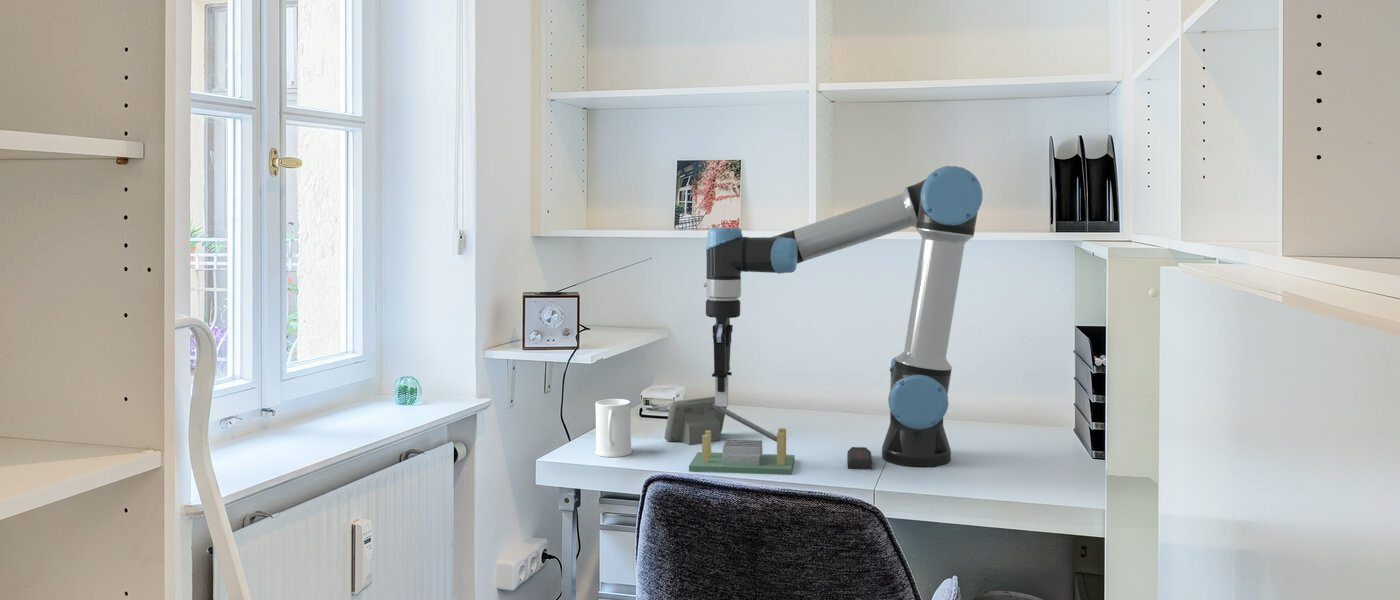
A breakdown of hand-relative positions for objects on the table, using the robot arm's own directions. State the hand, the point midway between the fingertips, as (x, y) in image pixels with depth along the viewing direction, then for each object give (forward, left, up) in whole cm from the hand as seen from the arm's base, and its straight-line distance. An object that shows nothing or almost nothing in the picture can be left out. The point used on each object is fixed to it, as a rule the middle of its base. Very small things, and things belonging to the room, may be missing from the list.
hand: (721, 405), depth 207 cm
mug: (+26, -6, -14) cm, 30 cm away
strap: (-6, 0, -4) cm, 7 cm away
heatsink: (-5, 0, -12) cm, 13 cm away
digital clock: (+9, -23, -14) cm, 29 cm away
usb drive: (-30, -6, -14) cm, 34 cm away
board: (-5, 0, -13) cm, 14 cm away
